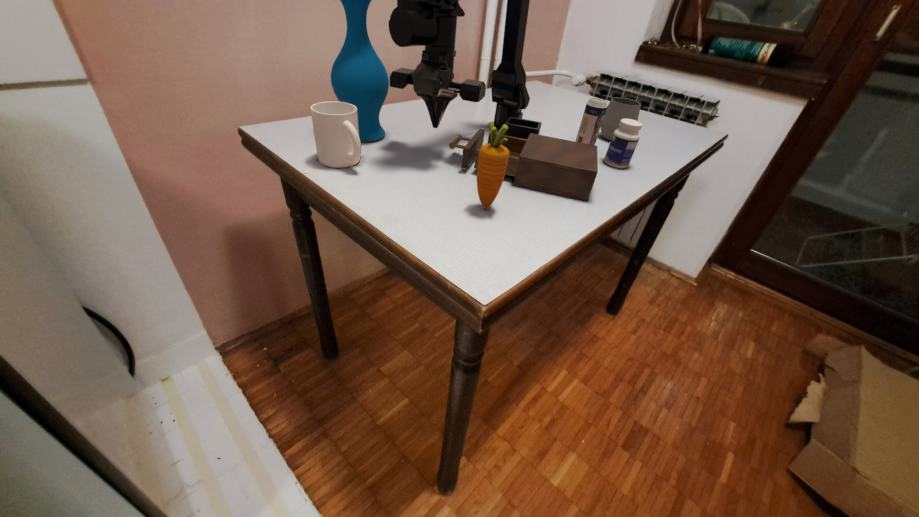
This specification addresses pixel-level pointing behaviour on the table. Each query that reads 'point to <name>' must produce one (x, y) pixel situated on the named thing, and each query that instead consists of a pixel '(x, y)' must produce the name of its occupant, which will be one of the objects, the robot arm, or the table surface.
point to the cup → (618, 114)
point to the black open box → (521, 127)
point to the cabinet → (557, 166)
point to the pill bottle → (623, 143)
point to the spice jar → (591, 121)
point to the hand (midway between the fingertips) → (435, 127)
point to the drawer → (476, 142)
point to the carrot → (492, 166)
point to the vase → (360, 72)
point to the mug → (336, 133)
